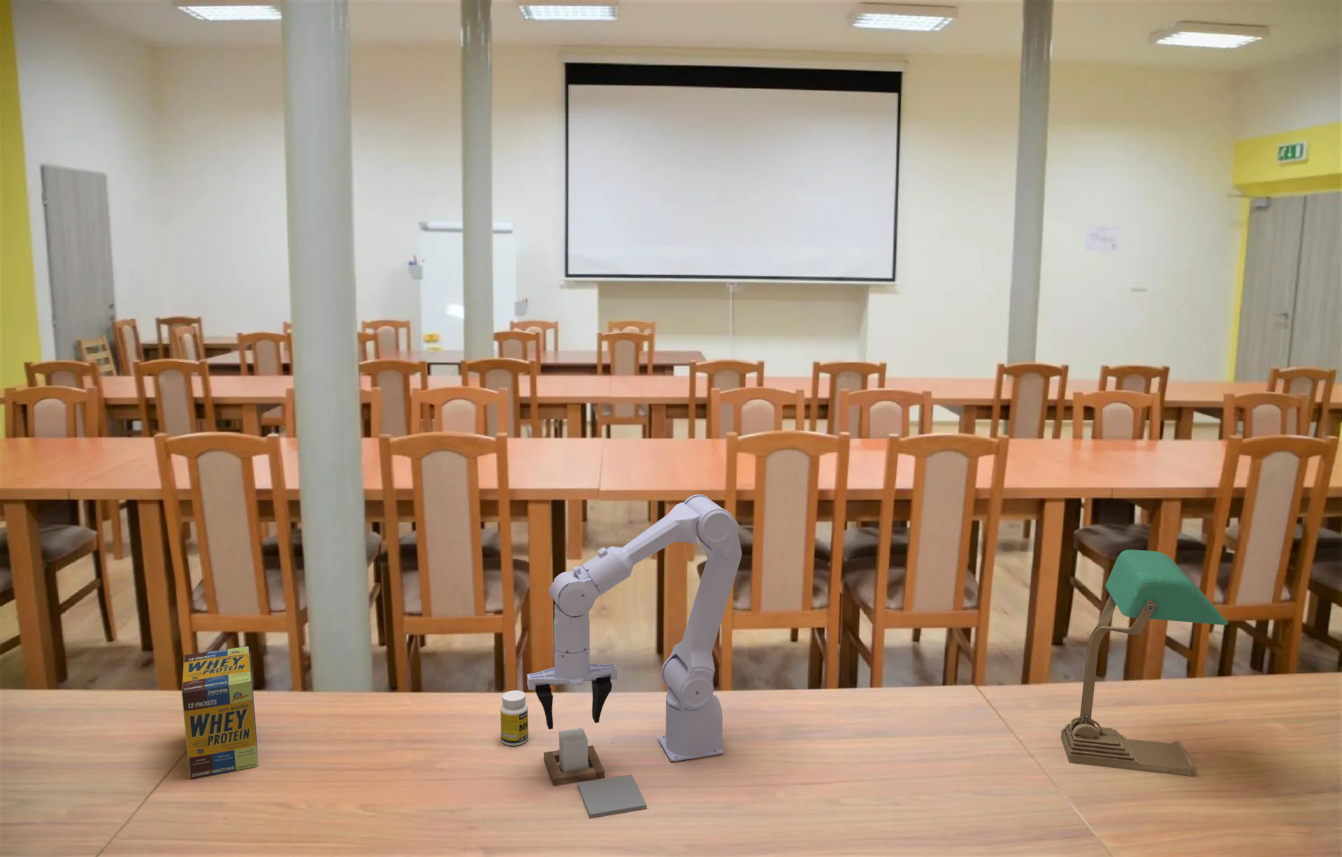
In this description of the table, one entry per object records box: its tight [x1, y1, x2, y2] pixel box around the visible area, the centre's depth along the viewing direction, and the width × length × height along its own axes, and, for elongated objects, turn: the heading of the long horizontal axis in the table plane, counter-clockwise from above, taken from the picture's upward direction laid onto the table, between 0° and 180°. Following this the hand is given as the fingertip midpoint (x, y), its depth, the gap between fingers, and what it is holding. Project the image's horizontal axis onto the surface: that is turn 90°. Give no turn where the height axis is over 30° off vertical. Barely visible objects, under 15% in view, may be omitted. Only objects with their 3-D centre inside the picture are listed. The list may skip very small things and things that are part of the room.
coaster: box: [577, 774, 648, 819], centre depth 158 cm, size 9×9×1 cm
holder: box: [543, 744, 606, 787], centre depth 166 cm, size 8×8×1 cm
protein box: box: [181, 645, 259, 780], centre depth 169 cm, size 10×15×16 cm
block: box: [558, 727, 589, 773], centre depth 166 cm, size 4×4×6 cm
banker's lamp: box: [1060, 549, 1229, 777], centre depth 168 cm, size 16×21×35 cm
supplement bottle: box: [500, 690, 529, 747], centre depth 174 cm, size 5×5×8 cm
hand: (572, 723), depth 164 cm, fingers open, 7 cm apart
